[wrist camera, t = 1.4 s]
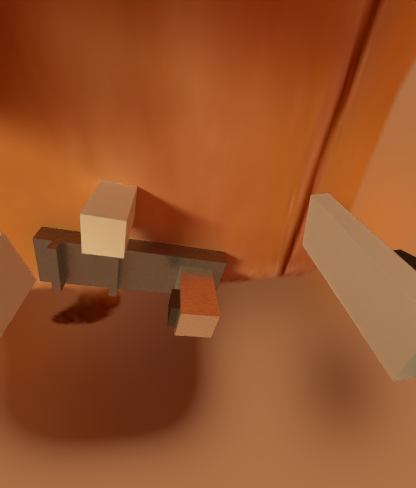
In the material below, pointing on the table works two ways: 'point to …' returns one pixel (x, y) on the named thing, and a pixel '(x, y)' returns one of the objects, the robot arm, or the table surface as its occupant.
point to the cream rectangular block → (108, 219)
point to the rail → (140, 275)
